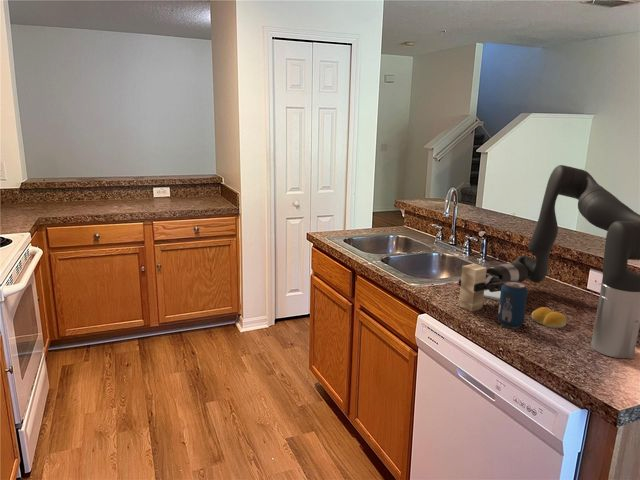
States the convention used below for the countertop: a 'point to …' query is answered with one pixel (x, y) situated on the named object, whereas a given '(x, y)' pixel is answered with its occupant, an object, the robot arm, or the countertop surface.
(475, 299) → the maple block
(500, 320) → the soda can
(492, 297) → the ceramic tile
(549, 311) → the bread roll
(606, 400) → the countertop surface
